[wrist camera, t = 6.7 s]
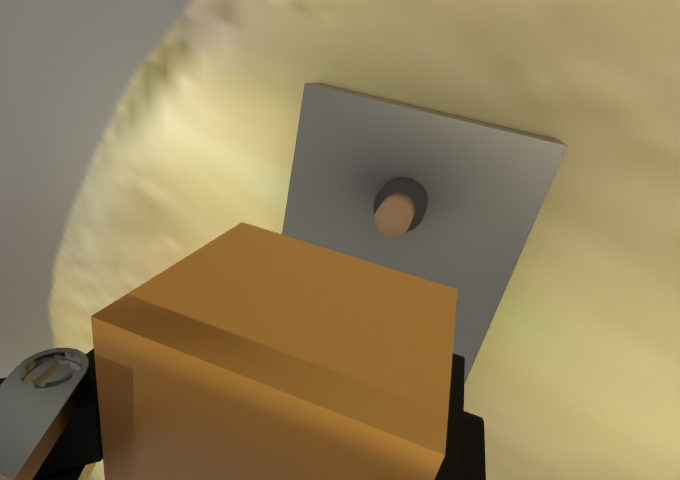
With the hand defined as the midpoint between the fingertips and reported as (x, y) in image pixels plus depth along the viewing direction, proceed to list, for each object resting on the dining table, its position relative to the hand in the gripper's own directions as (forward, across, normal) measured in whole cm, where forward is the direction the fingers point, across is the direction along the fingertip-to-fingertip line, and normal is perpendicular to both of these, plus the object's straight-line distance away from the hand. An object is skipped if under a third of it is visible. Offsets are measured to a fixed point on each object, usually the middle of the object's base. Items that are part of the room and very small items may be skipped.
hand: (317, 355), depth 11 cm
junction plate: (+16, 0, +4) cm, 16 cm away
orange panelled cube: (+1, 0, 0) cm, 1 cm away
